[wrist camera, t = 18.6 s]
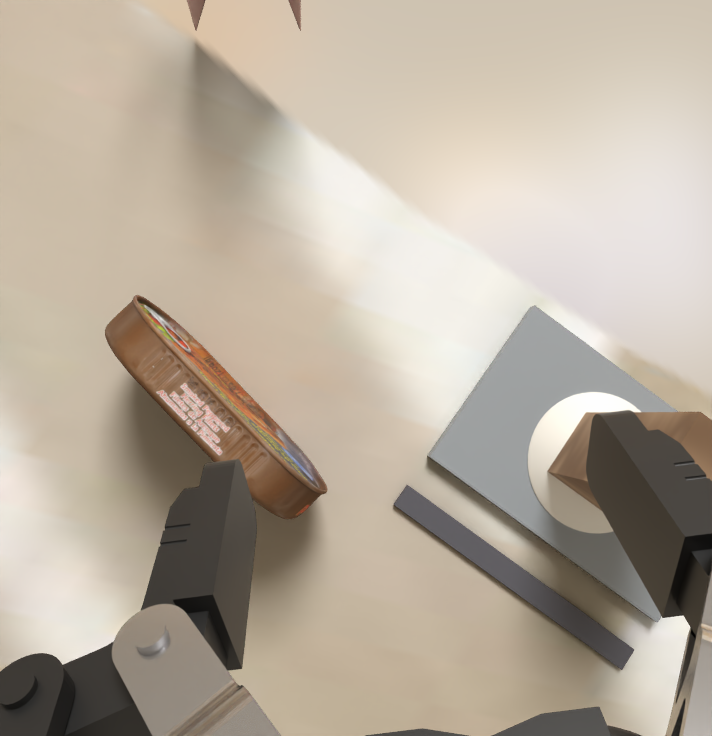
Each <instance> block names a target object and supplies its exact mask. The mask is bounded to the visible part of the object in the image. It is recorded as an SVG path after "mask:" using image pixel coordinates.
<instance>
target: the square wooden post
mask: <svg viewBox="0 0 712 736" xmlns="http://www.w3.org/2000/svg"><path fill="white" fill-rule="evenodd" d="M600 413H608V412H586V413H585V414H584V416H583V417H582V419H581V420H580V422H579V423H578V425H577V427H576V428H575V430H574V431H573V433H572V434H571V436H570V437H569V439H568V440H567V442H566V443H565V445H564V446H563V448H562V449H561V451H560V453H559V454H558V456H557V457H556V459H555V460H554V462H553V463H552V465H551V466H550V468H549V469H548V471H547V472H549V473H550V474H551V475H553V476H554V477H556V478H557V479H558V480H560V481H561V482H562V483H564V484H565V485H567V486H568V487H569V488H571V489H572V490H574V491H575V492H576V493H578V494H579V495H580V496H582V497H583V498H585V499H586V500H587V501H589V502H590V503H592V504H593V505H594V506H596V507H597V508H598V509H600V510H601V508H600V506H599V504H598V503H597V501H596V499H595V497H594V495H593V494H592V492H591V489H590V487H589V484H588V480H587V474H586V461H587V454H588V446H589V438H590V431H591V423H592V419H593V416H594V415H595V414H600ZM634 413H635V414H636V416H637V417H638V418H639V420H640V421H641V422H642V423H643V425H644V426H645V427H646V429H647V430H648V431H649V430H657V429H659V430H660V431H662V432H664V433H665V434H667V435H668V436H670V437H671V438H673V439H675V440H676V441H678V442H679V443H681V445H682V446H683V447H684V448H685V449H686V451H687V452H688V453H689V454H690V455H691V457H692V458H693V459H694V460H695V464H698V465H699V466H700V467H701V469H702V470H703V471H704V472H705V474H706V477H707V478H710V480H711V481H712V420H711V419H709V418H708V417H707V416H705V415H704V414H703V413H701V412H634ZM601 511H602V510H601Z"/></svg>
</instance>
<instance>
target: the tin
mask: <svg viewBox="0 0 712 736" xmlns="http://www.w3.org/2000/svg"><path fill="white" fill-rule="evenodd" d="M105 336H106V339H107V342H108V344H109V346H110V348H111V349H112V351H113V353H114V354H115V356H116V357H117V358H118V360H119V361H120V362H121V363H122V365H123V366H124V367H125V368H126V369H127V371H128V372H129V373H130V374H131V375H132V376H133V377H134V378H135V380H136V381H137V382H138V383H139V384H140V385H141V386H142V387H143V388H144V389H145V390H146V391H147V392H148V393H149V394H150V396H151V397H152V398H153V399H154V400H155V401H156V402H157V403H158V404H159V405H160V406H161V407H162V408H163V409H164V410H165V411H166V412H167V413H168V414H169V416H170V417H171V418H172V419H173V420H174V421H175V422H176V423H177V424H178V425H179V426H180V427H181V428H182V429H183V430H184V431H185V432H186V433H187V434H188V435H189V436H190V437H191V438H192V439H193V440H194V442H195V443H196V444H197V445H198V446H199V447H200V448H201V449H202V450H203V451H204V452H205V453H206V454H207V455H208V456H209V457H210V458H211V459H212V460H213V461H214V462H219V461H227V460H234V459H239V460H240V461H241V464H242V466H243V470H244V473H245V477H246V480H247V484H248V487H249V490H250V494H251V497H252V499H254V500H255V501H256V502H257V503H258V504H260V505H261V506H262V507H264V508H265V509H267V510H268V511H270V512H271V513H273V514H275V515H277V516H279V517H281V518H284V519H293V518H295V517H298V516H299V515H301V514H302V513H303V512H304V511H305V510H306V509H307V508H308V507H309V506H310V505H311V504H312V503H313V502H314V501H315V500H316V499H317V498H318V497H319V496H320V495H321V494H325V493H326V492H327V486H326V484H325V482H324V481H323V479H322V477H321V476H320V474H319V473H318V471H317V470H316V468H315V467H314V466H313V464H312V463H311V461H310V460H309V459H308V458H307V456H306V455H305V454H304V453H303V452H302V451H301V449H300V448H299V447H298V446H297V445H296V444H295V443H294V442H293V441H292V440H291V438H290V437H289V436H288V435H287V434H286V433H285V432H284V431H283V430H282V429H281V428H280V427H279V425H278V424H277V423H276V422H274V420H273V419H272V418H271V417H270V416H269V415H268V414H267V413H266V412H265V411H264V410H263V409H262V408H261V407H260V406H259V405H258V404H257V403H256V402H255V401H254V400H253V398H252V397H251V396H250V395H249V394H248V393H247V392H246V391H245V390H244V389H243V388H242V387H241V386H240V385H239V384H238V383H237V382H236V381H235V380H234V379H233V378H232V377H231V375H230V374H229V373H228V372H227V371H226V370H225V369H224V368H223V367H222V366H221V365H220V364H219V363H218V362H217V361H216V360H215V359H214V358H213V357H212V356H211V355H210V354H209V353H208V351H207V350H206V349H205V348H204V347H203V346H202V345H201V344H199V343H198V342H197V341H196V340H195V339H194V338H193V337H192V336H191V335H190V334H189V333H188V332H187V331H186V330H185V329H184V328H183V327H181V326H180V325H179V324H178V323H177V322H176V321H175V320H174V319H172V318H171V317H170V316H169V315H168V314H166V313H165V312H164V311H162V310H161V309H160V308H158V307H157V306H156V305H154V304H153V303H151V302H150V301H149V300H147V299H146V298H144V297H141V296H139V295H136V296H134V298H133V300H132V302H131V303H130V304H129V305H127V306H126V307H125V308H124V309H123V310H122V311H121V312H120V313H119V314H118V315H117V316H116V317H115V318H114V319H113V320H112V321H111V322H110V323H109V324H108V325H107V327H106V329H105Z"/></svg>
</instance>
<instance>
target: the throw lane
mask: <svg viewBox="0 0 712 736" xmlns="http://www.w3.org/2000/svg"><path fill="white" fill-rule="evenodd" d="M624 410H631V411H633V412H678V411H677V410H675V409H674V408H673V407H671V406H670V405H669V404H667V403H666V402H665V401H663V400H662V399H661V398H659V397H658V396H656V395H655V394H654V393H652V392H651V391H650V390H648V389H647V388H646V387H644V386H643V385H642V384H640V383H639V382H638V381H636V380H635V379H634V378H632V377H631V376H629V375H628V374H627V373H625V372H624V371H623V370H621V369H620V368H619V367H617V366H616V365H615V364H613V363H612V362H611V361H609V360H608V359H606V358H605V357H604V356H602V355H601V354H600V353H598V352H597V351H596V350H594V349H593V348H592V347H590V346H589V345H588V344H586V343H585V342H584V341H582V340H581V339H579V338H578V337H577V336H575V335H574V334H573V333H571V332H570V331H569V330H567V329H566V328H565V327H563V326H562V325H561V324H559V323H558V322H556V321H555V320H554V319H552V318H551V317H550V316H548V315H547V314H546V313H544V312H543V311H542V310H540V309H539V308H538V307H536V306H535V305H534V306H532V307H530V308H529V310H528V311H527V313H526V314H525V316H524V317H523V318H522V320H521V321H520V323H519V324H518V326H517V327H516V329H515V330H514V331H513V333H512V334H511V336H510V337H509V339H508V340H507V342H506V343H505V344H504V346H503V347H502V349H501V350H500V352H499V353H498V354H497V356H496V357H495V359H494V360H493V362H492V363H491V365H490V366H489V367H488V369H487V370H486V372H485V373H484V375H483V376H482V378H481V379H480V380H479V382H478V383H477V385H476V386H475V388H474V389H473V391H472V392H471V393H470V395H469V396H468V398H467V399H466V401H465V402H464V403H463V405H462V406H461V408H460V409H459V411H458V412H457V414H456V415H455V416H454V418H453V419H452V421H451V422H450V424H449V425H448V427H447V428H446V429H445V431H444V432H443V434H442V435H441V437H440V438H439V440H438V441H437V442H436V444H435V445H434V447H433V448H432V450H431V451H430V453H429V454H428V455H427V456H428V457H430V458H431V459H432V460H434V461H435V462H436V463H438V464H439V465H441V466H442V467H443V468H445V469H446V470H447V471H449V472H450V473H452V474H453V475H454V476H456V477H457V478H458V479H460V480H461V481H463V482H464V483H465V484H467V485H468V486H469V487H471V488H472V489H474V490H475V491H476V492H478V493H479V494H480V495H482V496H483V497H485V498H486V499H487V500H489V501H490V502H491V503H493V504H494V505H496V506H497V507H498V508H500V509H501V510H502V511H504V512H505V513H507V514H508V515H509V516H511V517H512V518H513V519H515V520H516V521H518V522H519V523H520V524H522V525H523V526H524V527H526V528H527V529H528V530H530V531H531V532H533V533H534V534H535V535H537V536H538V537H539V538H541V539H542V540H544V541H545V542H546V543H548V544H549V545H550V546H552V547H553V548H555V549H556V550H557V551H559V552H560V553H561V554H563V555H564V556H566V557H567V558H568V559H570V560H571V561H572V562H574V563H575V564H577V565H578V566H579V567H581V568H582V569H583V570H585V571H586V572H588V573H589V574H590V575H592V576H593V577H594V578H596V579H597V580H599V581H600V582H601V583H603V584H604V585H605V586H607V587H608V588H610V589H611V590H612V591H614V592H615V593H616V594H618V595H619V596H621V597H622V598H623V599H625V600H626V601H627V602H629V603H630V604H632V605H633V606H634V607H636V608H637V609H638V610H640V611H641V612H642V613H644V614H645V615H647V616H648V617H649V618H651V619H653V620H654V621H656V622H658V621H659V620H660V618H661V614H660V612H659V611H658V609H657V607H656V605H655V604H654V602H653V600H652V598H651V596H650V595H649V593H648V591H647V589H646V588H645V586H644V584H643V582H642V580H641V579H640V577H639V575H638V573H637V572H636V570H635V568H634V566H633V565H632V563H631V561H630V559H629V557H628V556H627V554H626V552H625V550H624V549H623V547H622V545H621V543H620V541H619V540H618V538H617V536H616V534H615V533H614V531H613V529H612V527H611V526H610V524H609V522H608V520H607V518H606V517H605V515H604V513H603V511H601V510H600V509H598V508H597V507H596V506H594V505H593V504H592V503H590V502H589V501H587V500H586V499H585V498H583V497H582V496H580V495H579V494H578V493H576V492H575V491H574V490H572V489H571V488H569V487H568V486H567V485H565V484H564V483H562V482H561V481H560V480H558V479H557V478H556V477H554V476H553V475H551V474H550V473H549V472H547V471H548V469H549V468H550V466H551V465H552V463H553V462H554V460H555V459H556V457H557V456H558V454H559V453H560V451H561V449H562V448H563V446H564V445H565V443H566V442H567V440H568V439H569V437H570V436H571V434H572V433H573V431H574V430H575V428H576V427H577V425H578V423H579V422H580V420H581V419H582V417H583V416H584V414H585V413H586V412H616V411H624ZM394 505H395V506H396V507H398V508H399V509H400V510H402V511H403V512H405V513H406V514H407V515H409V516H410V517H411V518H413V519H414V520H416V521H417V522H418V523H420V524H421V525H423V526H424V527H425V528H427V529H428V530H429V531H431V532H432V533H434V534H435V535H436V536H438V537H439V538H440V539H442V540H443V541H445V542H446V543H447V544H449V545H450V546H452V547H453V548H454V549H456V550H457V551H458V552H460V553H461V554H463V555H464V556H465V557H467V558H468V559H469V560H471V561H472V562H474V563H475V564H476V565H478V566H479V567H481V568H482V569H483V570H485V571H486V572H487V573H489V574H490V575H492V576H493V577H494V578H496V579H497V580H498V581H500V582H501V583H503V584H504V585H505V586H507V587H508V588H510V589H511V590H512V591H514V592H515V593H516V594H518V595H519V596H521V597H522V598H523V599H525V600H526V601H527V602H529V603H530V604H532V605H533V606H534V607H536V608H537V609H538V610H540V611H541V612H543V613H544V614H545V615H547V616H548V617H550V618H551V619H552V620H554V621H555V622H556V623H558V624H559V625H561V626H562V627H563V628H565V629H566V630H567V631H569V632H570V633H572V634H573V635H574V636H576V637H577V638H579V639H580V640H581V641H583V642H584V643H585V644H587V645H588V646H590V647H591V648H592V649H594V650H595V651H596V652H598V653H599V654H601V655H602V656H603V657H605V658H606V659H608V660H609V661H610V662H612V663H613V664H614V665H616V666H617V667H619V668H620V669H621V670H622V669H623V668H624V666H625V664H626V663H627V661H628V659H629V658H630V656H631V655H632V653H633V651H634V649H633V648H631V647H630V646H629V645H627V644H626V643H624V642H623V641H622V640H620V639H619V638H618V637H616V636H615V635H613V634H612V633H611V632H609V631H608V630H607V629H605V628H604V627H602V626H601V625H600V624H598V623H597V622H596V621H594V620H593V619H591V618H590V617H589V616H587V615H586V614H585V613H583V612H582V611H580V610H579V609H578V608H576V607H575V606H574V605H572V604H571V603H569V602H568V601H567V600H565V599H564V598H562V597H561V596H560V595H558V594H557V593H556V592H554V591H553V590H551V589H550V588H549V587H547V586H546V585H545V584H543V583H542V582H540V581H539V580H538V579H536V578H535V577H534V576H532V575H531V574H529V573H528V572H527V571H525V570H524V569H523V568H521V567H520V566H518V565H517V564H516V563H514V562H513V561H512V560H510V559H509V558H507V557H506V556H505V555H503V554H502V553H500V552H499V551H498V550H496V549H495V548H494V547H492V546H491V545H489V544H488V543H487V542H485V541H484V540H483V539H481V538H480V537H478V536H477V535H476V534H474V533H473V532H472V531H470V530H469V529H467V528H466V527H465V526H463V525H462V524H461V523H459V522H458V521H456V520H455V519H454V518H452V517H451V516H450V515H448V514H447V513H445V512H444V511H443V510H441V509H440V508H438V507H437V506H436V505H434V504H433V503H432V502H430V501H429V500H427V499H426V498H425V497H423V496H422V495H421V494H419V493H418V492H416V491H415V490H414V489H412V488H411V487H410V486H408V485H407V486H406V487H405V489H404V490H403V491H402V493H401V494H400V496H399V497H398V499H397V500H396V502H395V503H394Z"/></svg>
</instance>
